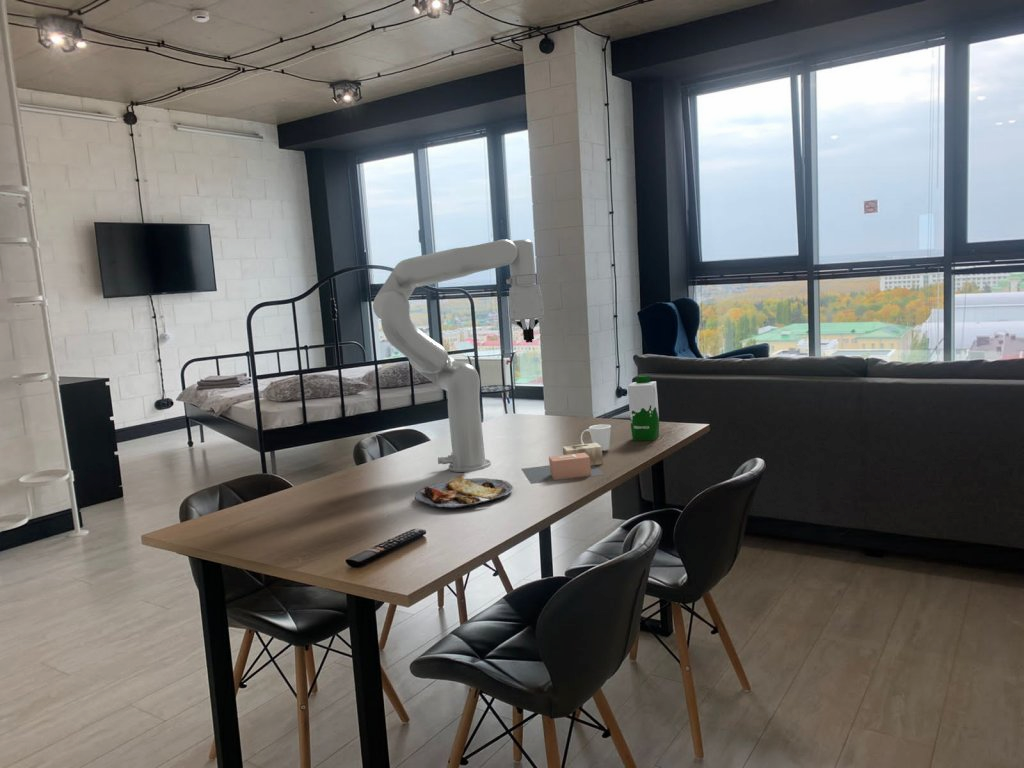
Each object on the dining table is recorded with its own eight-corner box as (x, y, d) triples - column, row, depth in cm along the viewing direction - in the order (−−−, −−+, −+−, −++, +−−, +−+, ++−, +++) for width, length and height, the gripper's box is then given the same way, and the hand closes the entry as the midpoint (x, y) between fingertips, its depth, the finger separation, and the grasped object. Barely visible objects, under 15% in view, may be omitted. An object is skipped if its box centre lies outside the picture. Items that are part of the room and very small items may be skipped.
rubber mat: (531, 485, 202) (530, 483, 202) (521, 470, 220) (521, 468, 220) (604, 476, 205) (604, 474, 205) (589, 461, 222) (589, 460, 222)
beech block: (566, 450, 215) (601, 446, 216) (562, 446, 221) (596, 442, 222) (568, 468, 216) (602, 463, 217) (564, 463, 221) (597, 459, 223)
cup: (608, 455, 228) (606, 428, 227) (577, 454, 233) (575, 428, 232) (616, 450, 235) (614, 424, 234) (586, 449, 239) (584, 424, 238)
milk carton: (662, 435, 250) (658, 374, 248) (656, 441, 242) (651, 378, 240) (635, 435, 254) (631, 375, 251) (629, 441, 246) (624, 379, 243)
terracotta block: (552, 460, 203) (589, 456, 205) (548, 456, 209) (584, 452, 210) (554, 479, 204) (591, 475, 205) (550, 474, 210) (586, 470, 211)
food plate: (399, 500, 199) (398, 487, 198) (471, 481, 213) (470, 468, 213) (456, 519, 179) (455, 505, 179) (530, 496, 194) (529, 483, 194)
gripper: (500, 283, 227) (506, 345, 229) (550, 279, 228) (555, 340, 231) (497, 284, 234) (503, 344, 236) (546, 279, 236) (551, 339, 238)
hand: (529, 342), depth 233 cm, fingers closed
